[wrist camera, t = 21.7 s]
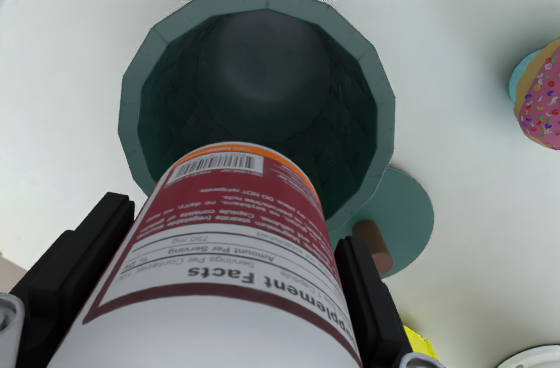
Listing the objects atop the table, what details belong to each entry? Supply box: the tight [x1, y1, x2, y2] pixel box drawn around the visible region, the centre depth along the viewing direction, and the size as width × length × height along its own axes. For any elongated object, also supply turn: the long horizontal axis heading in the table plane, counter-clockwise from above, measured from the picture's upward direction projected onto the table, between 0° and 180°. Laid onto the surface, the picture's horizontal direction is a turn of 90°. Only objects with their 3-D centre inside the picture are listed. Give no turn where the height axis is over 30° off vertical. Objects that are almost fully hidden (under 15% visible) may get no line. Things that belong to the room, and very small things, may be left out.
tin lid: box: [328, 167, 434, 279], centre depth 31 cm, size 13×13×6 cm
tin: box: [118, 0, 395, 234], centre depth 22 cm, size 12×12×14 cm
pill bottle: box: [47, 142, 363, 368], centre depth 9 cm, size 6×6×11 cm
